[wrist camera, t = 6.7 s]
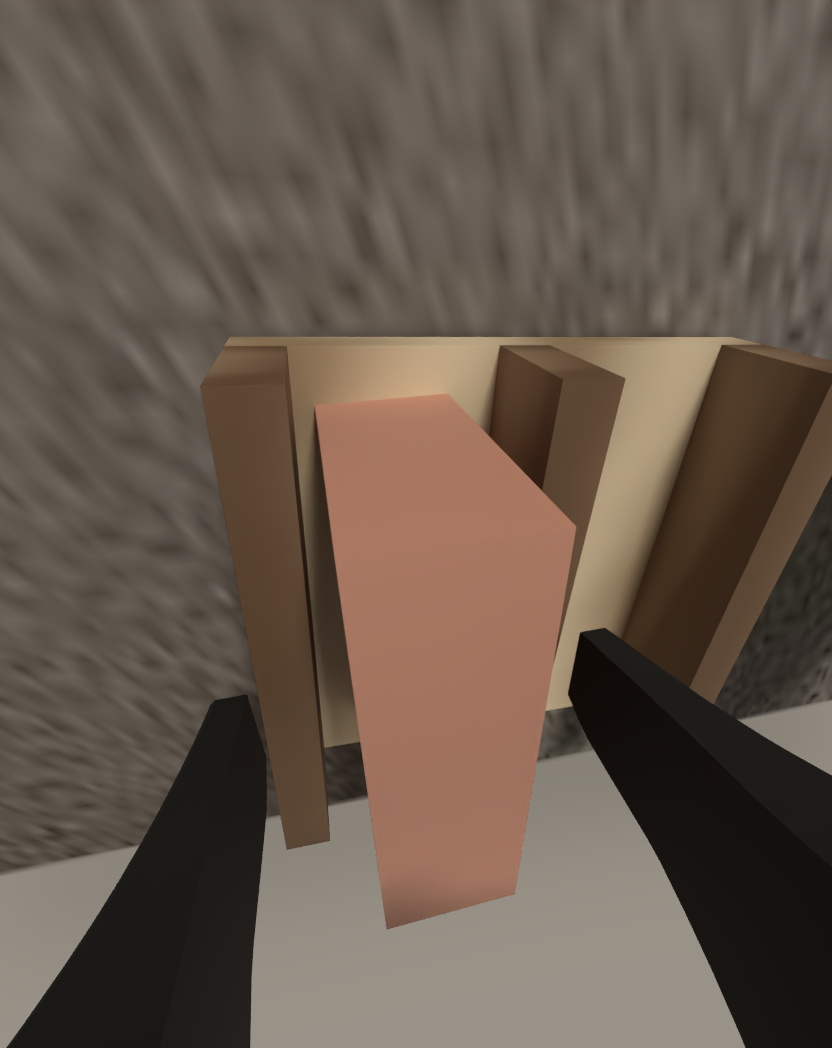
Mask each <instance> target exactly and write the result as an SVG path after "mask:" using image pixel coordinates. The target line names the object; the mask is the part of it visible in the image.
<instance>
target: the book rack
mask: <svg viewBox="0 0 832 1048" xmlns="http://www.w3.org/2000/svg"><path fill="white" fill-rule="evenodd" d="M200 388H201V393H202V398H203V404H204V409H205V414H206V420H207V425H208V430H209V436H210V441H211V446H212V452H213V457H214V463H215V468H216V473H217V479H218V484H219V489H220V495H221V500H222V505H223V511H224V516H225V521H226V527H227V532H228V537H229V543H230V548H231V553H232V559H233V564H234V569H235V575H236V580H237V585H238V591H239V596H240V602H241V607H242V612H243V618H244V623H245V628H246V634H247V639H248V644H249V650H250V655H251V660H252V666H253V671H254V676H255V682H256V687H257V692H258V698H259V703H260V708H261V714H262V719H263V725H264V730H265V735H266V741H267V746H268V751H269V757H270V762H271V767H272V773H273V778H274V783H275V789H276V794H277V799H278V805H279V810H280V815H281V820H282V825H283V831H284V836H285V842H286V848H287V849H292V848H297V847H302V846H307V845H311V844H317V843H321V842H326V841H330V833H329V818H328V801H327V784H326V768H325V752H324V748H326V747H332V746H338V745H344V744H350V743H356V742H360V735H359V728H358V721H357V714H356V707H355V700H354V693H353V686H352V679H351V671H350V664H349V657H348V650H347V643H346V636H345V629H344V622H343V615H342V608H341V600H340V593H339V586H338V579H337V572H336V565H335V557H334V550H333V542H332V534H331V527H330V519H329V511H328V504H327V496H326V488H325V480H324V473H323V465H322V457H321V450H320V442H319V434H318V426H317V419H316V411H315V406H317V405H327V404H338V403H349V402H360V401H371V400H382V399H392V398H403V397H414V396H425V395H436V394H447V393H448V394H449V395H450V396H451V397H452V398H453V399H454V400H455V401H456V402H457V404H458V405H459V406H460V407H461V408H462V409H463V410H464V411H465V412H466V413H467V414H468V415H469V416H470V417H471V418H472V419H473V420H474V421H475V422H476V423H477V424H478V425H479V426H480V427H481V428H482V429H483V430H484V431H485V433H486V434H487V435H488V436H489V437H490V438H491V439H492V440H493V441H494V442H495V443H496V444H497V445H498V446H499V447H500V448H501V449H502V450H503V451H504V452H505V453H506V454H507V455H508V456H509V457H510V458H511V459H512V460H513V462H514V463H515V464H516V465H517V466H518V467H519V468H520V469H521V470H522V471H523V472H524V473H525V474H526V475H527V476H528V477H529V478H530V479H531V480H532V481H533V482H534V483H535V484H536V485H537V486H538V487H539V488H540V489H541V490H542V492H543V493H544V494H545V495H546V496H547V497H548V498H549V499H550V500H551V501H552V502H553V503H554V504H555V505H556V506H557V507H558V508H559V509H560V510H561V511H562V512H563V513H564V514H565V515H566V516H567V517H568V518H569V519H570V521H571V522H572V523H573V524H574V525H575V526H576V532H575V538H574V544H573V550H572V556H571V562H570V568H569V574H568V580H567V586H566V592H565V598H564V604H563V610H562V615H561V621H560V627H559V633H558V639H557V645H556V651H555V657H554V663H553V669H552V675H551V681H550V687H549V693H548V699H547V704H546V710H545V711H547V710H553V709H559V708H565V707H571V706H573V705H572V703H571V701H570V698H569V696H568V690H569V685H570V680H571V675H572V670H573V665H574V660H575V655H576V650H577V645H578V640H579V635H580V632H584V631H589V630H595V629H600V628H606V629H608V630H609V631H611V632H612V633H613V634H615V635H616V636H618V637H619V638H620V639H622V640H623V641H625V642H626V643H627V644H629V645H630V646H631V647H633V648H634V649H636V650H637V651H638V652H640V653H641V654H642V655H644V656H645V657H647V658H648V659H649V660H651V661H652V662H654V663H655V664H656V665H658V666H659V667H660V668H662V669H663V670H665V671H666V672H667V673H669V674H670V675H672V676H673V677H674V678H676V679H677V680H679V681H680V682H681V683H683V684H684V685H686V686H687V687H689V688H690V689H692V690H693V691H694V692H696V693H697V694H699V695H700V696H702V697H703V698H705V699H706V700H708V701H709V702H711V703H712V704H714V702H715V700H716V698H717V696H718V694H719V693H720V691H721V689H722V687H723V685H724V683H725V681H726V679H727V677H728V675H729V673H730V671H731V669H732V667H733V665H734V663H735V662H736V660H737V658H738V656H739V654H740V652H741V650H742V648H743V646H744V644H745V642H746V640H747V638H748V636H749V634H750V632H751V631H752V629H753V627H754V625H755V623H756V621H757V619H758V617H759V615H760V613H761V611H762V609H763V607H764V605H765V603H766V602H767V600H768V598H769V596H770V594H771V592H772V590H773V588H774V586H775V584H776V582H777V580H778V578H779V576H780V574H781V572H782V571H783V569H784V567H785V565H786V563H787V561H788V559H789V557H790V555H791V553H792V551H793V549H794V547H795V545H796V543H797V541H798V540H799V538H800V536H801V534H802V532H803V530H804V528H805V526H806V524H807V522H808V520H809V518H810V516H811V514H812V512H813V511H814V509H815V507H816V505H817V503H818V501H819V499H820V497H821V495H822V493H823V491H824V489H825V487H826V485H827V483H828V481H829V480H830V478H831V476H832V361H829V360H825V359H821V358H817V357H813V356H808V355H804V354H800V353H796V352H792V351H787V350H783V349H779V348H775V347H771V346H766V345H762V344H758V343H754V342H750V341H745V340H741V339H737V338H733V337H229V339H228V341H227V342H226V344H225V346H224V347H223V349H222V351H221V352H220V354H219V356H218V357H217V359H216V361H215V362H214V364H213V366H212V367H211V369H210V371H209V372H208V374H207V376H206V377H205V379H204V381H203V382H202V384H201V386H200Z"/></svg>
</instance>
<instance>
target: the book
mask: <svg viewBox="0 0 832 1048" xmlns="http://www.w3.org/2000/svg"><path fill="white" fill-rule="evenodd" d="M315 411H316V419H317V426H318V434H319V442H320V450H321V457H322V465H323V473H324V480H325V488H326V496H327V504H328V511H329V519H330V527H331V534H332V542H333V550H334V557H335V565H336V572H337V579H338V586H339V593H340V600H341V608H342V615H343V622H344V629H345V636H346V643H347V650H348V657H349V664H350V671H351V679H352V686H353V693H354V700H355V707H356V714H357V721H358V728H359V735H360V743H361V750H362V757H363V764H364V771H365V778H366V785H367V792H368V799H369V806H370V813H371V821H372V828H373V835H374V842H375V849H376V856H377V863H378V870H379V877H380V885H381V892H382V898H383V905H384V913H385V920H386V927H387V929H390V928H394V927H397V926H401V925H405V924H408V923H412V922H415V921H419V920H423V919H426V918H430V917H434V916H437V915H440V914H444V913H447V912H452V911H455V910H459V909H462V908H466V907H469V906H473V905H477V904H480V903H484V902H487V901H491V900H495V899H498V898H502V897H505V896H509V895H513V894H515V888H516V882H517V876H518V870H519V865H520V859H521V853H522V847H523V841H524V834H525V829H526V823H527V817H528V811H529V805H530V799H531V793H532V787H533V782H534V775H535V770H536V764H537V758H538V752H539V746H540V740H541V734H542V728H543V722H544V716H545V710H546V704H547V699H548V693H549V687H550V681H551V675H552V669H553V663H554V657H555V651H556V645H557V639H558V633H559V627H560V621H561V615H562V610H563V604H564V598H565V592H566V586H567V580H568V574H569V568H570V562H571V556H572V550H573V544H574V538H575V532H576V526H575V525H574V524H573V523H572V522H571V521H570V519H569V518H568V517H567V516H566V515H565V514H564V513H563V512H562V511H561V510H560V509H559V508H558V507H557V506H556V505H555V504H554V503H553V502H552V501H551V500H550V499H549V498H548V497H547V496H546V495H545V494H544V493H543V492H542V490H541V489H540V488H539V487H538V486H537V485H536V484H535V483H534V482H533V481H532V480H531V479H530V478H529V477H528V476H527V475H526V474H525V473H524V472H523V471H522V470H521V469H520V468H519V467H518V466H517V465H516V464H515V463H514V462H513V460H512V459H511V458H510V457H509V456H508V455H507V454H506V453H505V452H504V451H503V450H502V449H501V448H500V447H499V446H498V445H497V444H496V443H495V442H494V441H493V440H492V439H491V438H490V437H489V436H488V435H487V434H486V433H485V431H484V430H483V429H482V428H481V427H480V426H479V425H478V424H477V423H476V422H475V421H474V420H473V419H472V418H471V417H470V416H469V415H468V414H467V413H466V412H465V411H464V410H463V409H462V408H461V407H460V406H459V405H458V404H457V402H456V401H455V400H454V399H453V398H452V397H451V396H450V395H449V394H448V393H447V394H436V395H425V396H414V397H403V398H392V399H382V400H371V401H360V402H349V403H338V404H327V405H317V406H315Z"/></svg>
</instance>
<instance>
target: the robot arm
mask: <svg viewBox="0 0 832 1048" xmlns="http://www.w3.org/2000/svg"><path fill="white" fill-rule="evenodd" d="M568 696H569V698H570V701H571V703H572V705H573V708H574V710H575V712H576V715H577V717H578V719H579V721H580V723H581V725H582V728H583V730H584V732H585V734H586V736H587V738H588V740H589V742H590V743H591V745H592V747H593V749H594V750H595V752H596V754H597V755H598V757H599V759H600V760H601V762H602V764H603V765H604V767H605V769H606V770H607V772H608V774H609V775H610V777H611V779H612V780H613V782H614V784H615V786H616V787H617V789H618V790H619V792H620V794H621V795H622V797H623V799H624V800H625V802H626V804H627V805H628V807H629V809H630V810H631V812H632V814H633V815H634V817H635V819H636V820H637V822H638V824H639V825H640V827H641V829H642V830H643V832H644V834H645V835H646V837H647V839H648V841H649V842H650V844H651V846H652V848H653V850H654V851H655V853H656V855H657V857H658V859H659V860H660V862H661V864H662V866H663V868H664V870H665V873H666V875H667V877H668V879H669V880H670V883H671V884H672V887H673V889H674V891H675V893H676V895H677V897H678V898H679V901H680V903H681V905H682V907H683V909H684V911H685V913H686V915H687V917H688V920H689V922H690V924H691V926H692V928H693V930H694V933H695V935H696V937H697V939H698V941H699V943H700V945H701V947H702V950H703V952H704V954H705V956H706V958H707V960H708V963H709V965H710V967H711V969H712V971H713V973H714V976H715V978H716V980H717V983H718V985H719V987H720V990H721V992H722V994H723V996H724V998H725V1001H726V1003H727V1006H728V1008H729V1010H730V1012H731V1015H732V1017H733V1019H734V1022H735V1024H736V1026H737V1028H738V1031H739V1033H740V1035H741V1038H742V1040H743V1043H744V1045H745V1047H746V1048H832V775H830V774H828V773H826V772H824V771H823V770H821V769H819V768H817V767H815V766H814V765H812V764H810V763H808V762H806V761H805V760H803V759H801V758H799V757H798V756H796V755H794V754H792V753H790V752H789V751H787V750H785V749H784V748H782V747H780V746H779V745H777V744H775V743H773V742H772V741H770V740H768V739H767V738H765V737H763V736H762V735H760V734H759V733H757V732H755V731H754V730H752V729H751V728H749V727H748V726H746V725H744V724H743V723H741V722H740V721H738V720H737V719H735V718H733V717H732V716H730V715H729V714H727V713H726V712H724V711H723V710H721V709H720V708H718V707H717V706H715V705H714V704H712V703H711V702H709V701H708V700H706V699H705V698H703V697H702V696H700V695H699V694H697V693H696V692H694V691H693V690H692V689H690V688H689V687H687V686H686V685H684V684H683V683H681V682H680V681H679V680H677V679H676V678H674V677H673V676H672V675H670V674H669V673H667V672H666V671H665V670H663V669H662V668H660V667H659V666H658V665H656V664H655V663H654V662H652V661H651V660H649V659H648V658H647V657H645V656H644V655H642V654H641V653H640V652H638V651H637V650H636V649H634V648H633V647H631V646H630V645H629V644H627V643H626V642H625V641H623V640H622V639H620V638H619V637H618V636H616V635H615V634H613V633H612V632H611V631H609V630H608V629H606V628H600V629H595V630H589V631H584V632H580V635H579V640H578V645H577V650H576V655H575V660H574V665H573V670H572V675H571V680H570V685H569V690H568ZM266 811H267V780H266V755H265V752H264V748H263V745H262V742H261V739H260V735H259V732H258V729H257V726H256V723H255V719H254V716H253V713H252V710H251V707H250V703H249V700H248V697H247V695H241V696H236V697H231V698H225V699H220V700H215V701H214V702H213V703H212V704H211V705H210V707H209V710H208V712H207V714H206V717H205V719H204V721H203V723H202V726H201V728H200V730H199V732H198V734H197V737H196V739H195V741H194V743H193V745H192V747H191V749H190V751H189V754H188V756H187V758H186V760H185V762H184V764H183V766H182V768H181V770H180V772H179V774H178V776H177V778H176V780H175V782H174V783H173V785H172V787H171V789H170V791H169V793H168V795H167V797H166V799H165V801H164V802H163V804H162V806H161V808H160V810H159V812H158V814H157V816H156V818H155V819H154V821H153V823H152V825H151V827H150V828H149V830H148V832H147V834H146V835H145V837H144V839H143V841H142V842H141V844H140V846H139V847H138V849H137V851H136V853H135V854H134V856H133V858H132V859H131V861H130V863H129V865H128V866H127V868H126V870H125V872H124V873H123V875H122V877H121V879H120V880H119V882H118V883H117V885H116V887H115V889H114V890H113V891H112V893H111V895H110V896H109V898H108V900H107V901H106V903H105V904H104V906H103V908H102V909H101V911H100V912H99V914H98V915H97V917H96V919H95V920H94V922H93V923H92V925H91V926H90V928H89V929H88V931H87V932H86V934H85V936H84V937H83V939H82V940H81V942H80V943H79V945H78V946H77V948H76V949H75V951H74V952H73V954H72V955H71V957H70V958H69V960H68V961H67V963H66V964H65V966H64V967H63V969H62V970H61V971H60V973H59V974H58V976H57V977H56V979H55V980H54V982H53V983H52V984H51V986H50V987H49V989H48V990H47V991H46V993H45V994H44V996H43V997H42V999H41V1000H40V1002H39V1003H38V1004H37V1006H36V1007H35V1009H34V1010H33V1011H32V1013H31V1014H30V1016H29V1017H28V1019H27V1020H26V1022H25V1023H24V1024H23V1026H22V1027H21V1029H20V1030H19V1031H18V1033H17V1034H16V1035H15V1037H14V1038H13V1040H12V1041H11V1042H10V1044H9V1045H8V1046H7V1048H250V1025H251V1024H250V1023H251V977H252V976H251V975H252V959H253V945H254V934H255V923H256V914H257V903H258V894H259V884H260V873H261V864H262V853H263V843H264V832H265V822H266Z"/></svg>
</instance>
